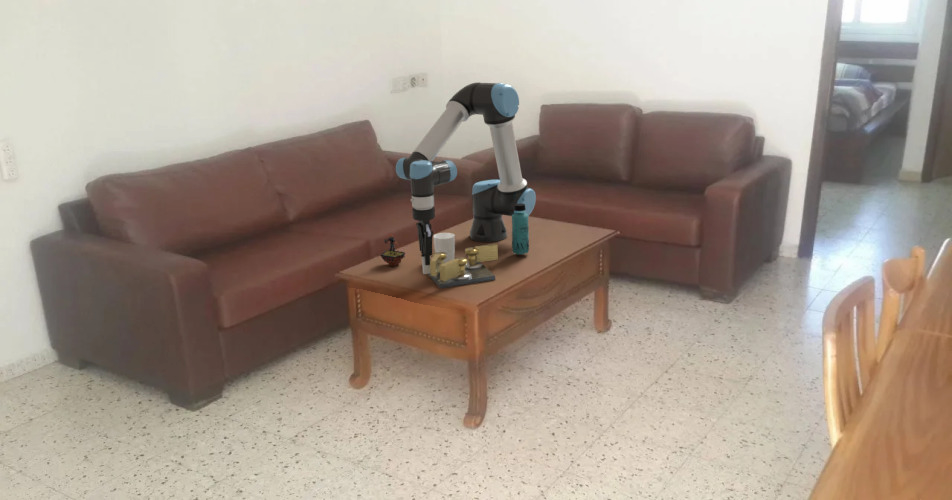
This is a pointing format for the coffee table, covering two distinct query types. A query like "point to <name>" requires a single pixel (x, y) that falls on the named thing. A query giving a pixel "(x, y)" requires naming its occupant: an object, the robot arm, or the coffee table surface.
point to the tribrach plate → (466, 276)
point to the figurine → (392, 253)
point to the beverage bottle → (520, 230)
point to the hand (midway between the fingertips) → (427, 272)
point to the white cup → (445, 245)
